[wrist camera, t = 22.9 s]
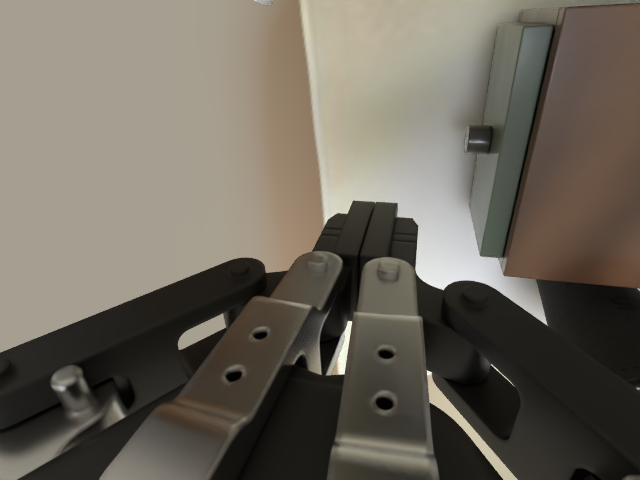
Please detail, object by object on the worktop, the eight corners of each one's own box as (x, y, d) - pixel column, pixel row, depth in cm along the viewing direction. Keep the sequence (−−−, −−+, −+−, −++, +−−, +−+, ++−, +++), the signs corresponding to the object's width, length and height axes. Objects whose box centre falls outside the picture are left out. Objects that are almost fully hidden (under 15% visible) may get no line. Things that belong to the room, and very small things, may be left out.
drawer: (451, 205, 28) (457, 254, 22) (475, 24, 22) (492, 27, 16) (604, 213, 25) (655, 271, 20) (675, 15, 20) (775, 14, 14)
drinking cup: (626, 311, 29) (891, 704, 13) (516, 314, 32) (615, 646, 15) (640, 223, 26) (1027, 601, 9) (516, 234, 28) (642, 548, 12)
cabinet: (483, 209, 28) (503, 276, 21) (520, 10, 22) (565, 7, 15) (635, 218, 26) (715, 296, 19) (723, -1, 20) (894, -11, 12)
